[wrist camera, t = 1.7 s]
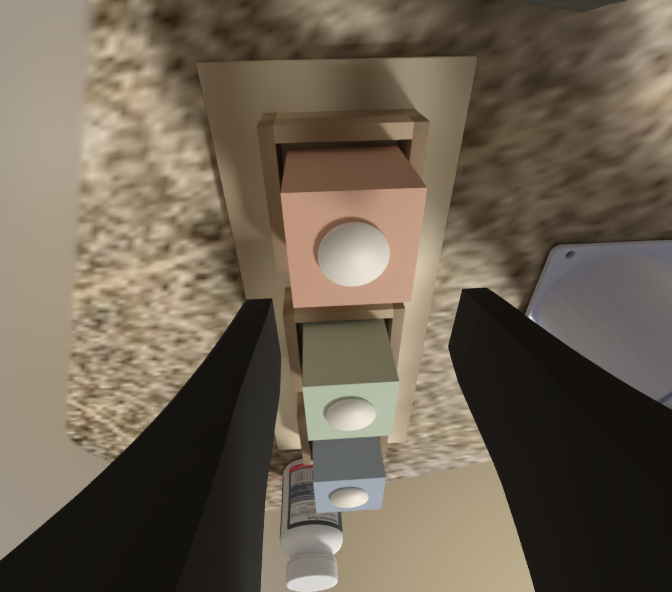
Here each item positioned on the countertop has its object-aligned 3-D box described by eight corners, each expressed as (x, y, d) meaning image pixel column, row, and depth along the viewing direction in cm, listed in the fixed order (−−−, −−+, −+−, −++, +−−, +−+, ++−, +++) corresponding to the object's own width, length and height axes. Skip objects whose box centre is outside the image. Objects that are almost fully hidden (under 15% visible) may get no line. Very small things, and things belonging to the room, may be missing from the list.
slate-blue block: (374, 413, 25) (386, 480, 22) (372, 446, 28) (381, 511, 24) (312, 416, 25) (313, 485, 21) (315, 450, 28) (316, 516, 24)
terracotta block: (397, 146, 14) (429, 190, 11) (389, 243, 17) (412, 305, 13) (287, 149, 14) (280, 195, 10) (296, 247, 17) (293, 311, 13)
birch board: (472, 55, 15) (504, 62, 12) (403, 435, 32) (411, 469, 29) (199, 61, 14) (178, 70, 12) (278, 443, 31) (276, 478, 29)
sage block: (383, 316, 20) (400, 384, 16) (378, 369, 23) (392, 438, 19) (303, 320, 20) (302, 390, 16) (308, 373, 22) (308, 444, 19)
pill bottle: (321, 486, 37) (324, 597, 30) (274, 476, 35) (265, 592, 28) (348, 462, 34) (358, 577, 27) (299, 450, 32) (296, 570, 25)
